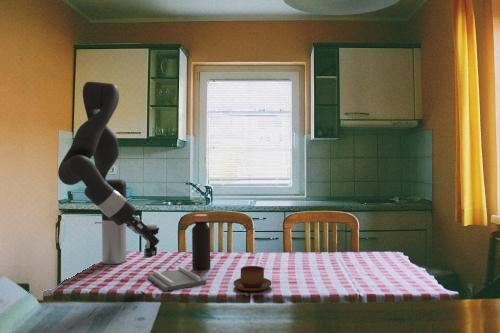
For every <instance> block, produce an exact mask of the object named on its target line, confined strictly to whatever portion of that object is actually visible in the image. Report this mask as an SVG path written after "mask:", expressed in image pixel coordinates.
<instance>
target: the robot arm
mask: <svg viewBox="0 0 500 333" xmlns="http://www.w3.org/2000/svg"><path fill="white" fill-rule="evenodd" d="M82 100H83V105H84V111H85V115H86V118H87V120H86V121H84V122H83V123H82V124H81V125H80V126H79V128H78V129H77V131H76V133H75V135H74V138H73V140H72V143H71V145H70V148H69V149H68V151H67V152H66V154H65V156H64V158H63V159H62V161H61V162H60V164H59V166H58V170H57V175H58V178H59V180H60V182H61V183H63V184H65V185H68V186H73V185H76V184H79V183H80V182H82V183H83V184H84V185H85V189H84V192H83V193H84V196H85V197H87V199H89V200H90V201H91V202H92V203H93V205H95V206H96V207H97V208H98V209H99V210H100V211H101V212H102V213H101V245H102V246H101V247H102V248H101V249H102V250H101V251H102V252H101V253H102V257H101V258H102V259H101V261H102V264H105V265H116V264H121V263H125V262H127V228H128V229H130V230H131V231H132V232H133V233H135V234H136V235H138V236H141V237H142V238H143V239H144V240H145V241H146V242H147V240H149V241H150V242H151V243H152V244H153V245H155V246H157V245H158V244H159V243H160V239H159V238H157V237H156V235H153V234H152V231H151V230H150V229H149V228H147V226H146V225H147V224H145V223H144V222H143V221H142V220H141V219H140V217H139V216H134V214H135V212H136V207H135V206H134V205H133V204H132V203H131V202H130V201H129V200H128V199H127V183H126V180H124V179H107V175H108V173H109V171H110V170H111V168H112V167H113V166H114V165H115V163H116V162H117V160H118V158H119V154H120V150H119V139H118V138H117V135H116V134H115V132H114V130H112V129H111V128H110V126H109V125H108V123H109V122H110V120H111V118H112V116H114V113H115V111H116V109H117V108H118V105H119V102H120V91H119V88H118V86H117V85H116V84H114V83H108V82H99V81H97V82H96V81H86V82H85V83H84V85H83V87H82ZM91 158H93V160H94V161H92V160H91ZM146 230H147V231H148V232H147V233H146V234H144V232H145V231H146Z"/></svg>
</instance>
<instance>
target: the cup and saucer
mask: <svg viewBox="0 0 500 333" xmlns="http://www.w3.org/2000/svg"><path fill="white" fill-rule="evenodd" d="M232 284H233V286H234V287H235V288H236V289H238V290H240V291H244V292H261V291H264V290H266V289H269V288H270V287H271V286H272V281H271V280H270V279H268V278H266V277H265V268H264V267H262V266H259V265H248V266H243V267H241V268H240V278H237V279H235V280H233V283H232Z"/></svg>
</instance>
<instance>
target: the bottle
mask: <svg viewBox="0 0 500 333" xmlns="http://www.w3.org/2000/svg"><path fill="white" fill-rule="evenodd" d="M208 215H209V214H205V213H204V214H202V213H201V214H194V216H193V219H194V223H195V225H193V227H192V229H191V252H192V253H191V254H192V255H191V257H192V258H191V262H192V263H191V264H192V266H191V267H192V269H193V270H194V271H207V270H209V269H211V228H210V226H209V225H208V224H207V223H208Z"/></svg>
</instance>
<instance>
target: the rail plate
mask: <svg viewBox="0 0 500 333" xmlns="http://www.w3.org/2000/svg"><path fill="white" fill-rule="evenodd" d="M152 271H153V273H150V274H147V279H148V278H149V279H148V280H150V281H151V282H152V283H153V282H154V284H155V285H156V284H157V285H158V286H157V285H156V286H157V287H158V288H160V287H161V288H162V289H161V288H160V289H161V290H163V291H164V292H168V290H170V291H175V290H180V289H185V288H191V287H195V286H201V285H206V284H207V280H206V279H205V278H203V277H202V276H200V275H198V274H196V273H194V272H193V271H191V270H189V269H187V268H185V267H183V266H182V265H179V266H178V269H175V270H170V271H169V270H168V271H163V272H159V271H157V270H156V269H154V270H152ZM174 289H175V290H174Z"/></svg>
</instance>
